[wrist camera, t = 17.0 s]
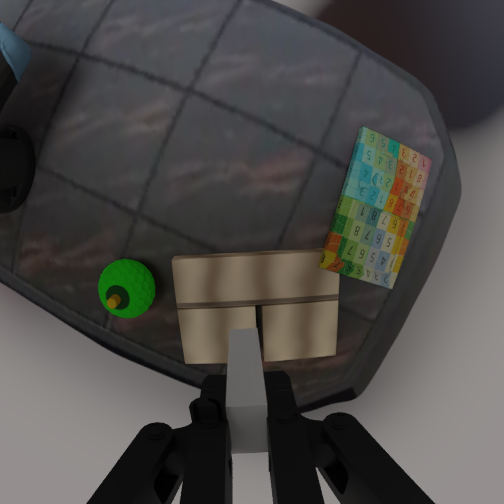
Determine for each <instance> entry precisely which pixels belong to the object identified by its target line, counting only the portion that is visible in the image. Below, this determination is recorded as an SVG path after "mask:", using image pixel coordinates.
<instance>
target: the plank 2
mask: <svg viewBox="0 0 504 504" xmlns="http://www.w3.org/2000/svg"><path fill="white" fill-rule="evenodd" d="M261 306H262V330H263V355H264V362H268V361H281V360H293V359H303V358H313V357H322V356H331V355H336V341H337V321H338V299H328V300H316V301H303V302H289V303H275V304H261Z"/></svg>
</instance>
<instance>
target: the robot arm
mask: <svg viewBox="0 0 504 504" xmlns="http://www.w3.org/2000/svg"><path fill="white" fill-rule="evenodd" d="M31 56H32V52H31V49H30V47H29V46H28V45H27V44H26V43H25V42H24V41H23V40H22V39H21V38H20V37H19V36H18V35H17V34H16V33H14V32H13V31H12V30H11V29H9V28H8V27H7V26H6V25H4V24H3V23H1V22H0V113H1V111H2V109H3V107H4V105H5V103H6V101H7V100H8V98H9V96H10V94H11V93H12V91H13V89H14V87H15V86H16V84H17V85H18V84H19V82H20V78H21V76H22V74H23V72H24V71H25V69H26V67H27V66H28V64H29V62H30V60H31ZM34 169H35V156H34V150H33V146H32V143H31V140H30V138H29V137H28V135H27V134H26V133H25V131H23V130H22V129H21V128H19V127H16V126H11V125H0V214H3V213H7V212H11V211H13V210H15V209H16V208H17V207H18V206H19V205H20V204H21V203H22V202H23V201H24V199H25V198H26V196H27V194H28V192H29V190H30V187H31V184H32V181H33V176H34ZM189 409H190V414H191V419H192V423H191V424H189V425H188V426H185V427H181V428H177V429H172V428H171V427H170V426H169V425H167V424H165V423H159V422H156V423H150V424H148V425H146V426H144V427H143V428H142V429H141V430H140V431H139V433H138V434H137V435H136V437H135V438H134V440H133V441H132V442H131V444H130V445H129V446H128V448H127V449H126V451H125V452H124V453H123V455H122V456H121V457H120V459H119V460H118V461H117V463H116V464H115V466H114V467H113V468H112V470H111V471H110V472H109V474H108V475H107V476H106V478H105V479H104V480H103V482H102V483H101V485H100V486H99V487H98V489H97V490H96V491H95V493H94V494H93V495H92V497H91V498H90V499H89V501H88V502H87V503H86V504H171V503H172V501H173V499H174V497H175V495H176V493H177V491H178V489H179V487H180V485H181V483H182V481H183V484H182V491H181V497H180V504H232V456H231V451H232V454H235V453H257V452H268V453H269V454H268V456H269V472H270V478H271V488H272V497H273V504H325V503H324V499H323V496H322V491H321V487H320V484H319V480H318V476H317V472H316V468H315V467H318V470H319V471H320V473H321V475H322V476H323V478H324V479H325V481H326V482H327V484H328V485H329V487H330V488H331V490H332V491H333V493H334V494H335V496H336V497H337V499H338V500H339V502H340V503H341V504H435V503H434V502H433V501H432V500H431V499H430V498H429V497H428V496H427V495H426V494H425V493H424V491H422V489H421V488H420V487H419V486H418V485H417V484H416V483H415V482H414V481H413V480H412V479H411V478H410V477H409V476H408V475H407V474H406V473H405V472H404V470H403V469H402V468H401V467H400V466H399V465H398V464H397V463H396V462H395V461H394V460H393V459H392V458H391V457H390V455H389V454H388V453H387V452H386V451H385V450H384V449H383V448H382V447H381V446H380V445H379V443H378V442H377V441H376V440H375V439H374V438H373V437H372V436H371V435H370V434H369V433H368V431H367V430H366V429H365V428H364V427H363V426H362V425H361V424H360V423H359V422H358V420H357V419H356V418H355V417H353V416H352V415H350V414H347V413H342V412H337V413H332V414H330V415H328V416H326V418H325V419H324V420H323V421H319V420H311V419H308V418H305V417H303V416H302V415H301V413H300V412H299V411H298V409H297V405H296V401H295V397H294V393H293V390H292V386H291V382H290V378H289V376H288V375H287V374H286V373H285V372H284V371H272V372H263V368H262V360H261V353H260V345H259V337H258V329H257V328H248V329H230V331H229V349H228V368H227V375H208V376H207V377H206V378H205V379H204V380H203V382H202V387H201V395H200V398H197V399H195V400H194V401H192V402H191V404H190V406H189Z"/></svg>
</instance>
